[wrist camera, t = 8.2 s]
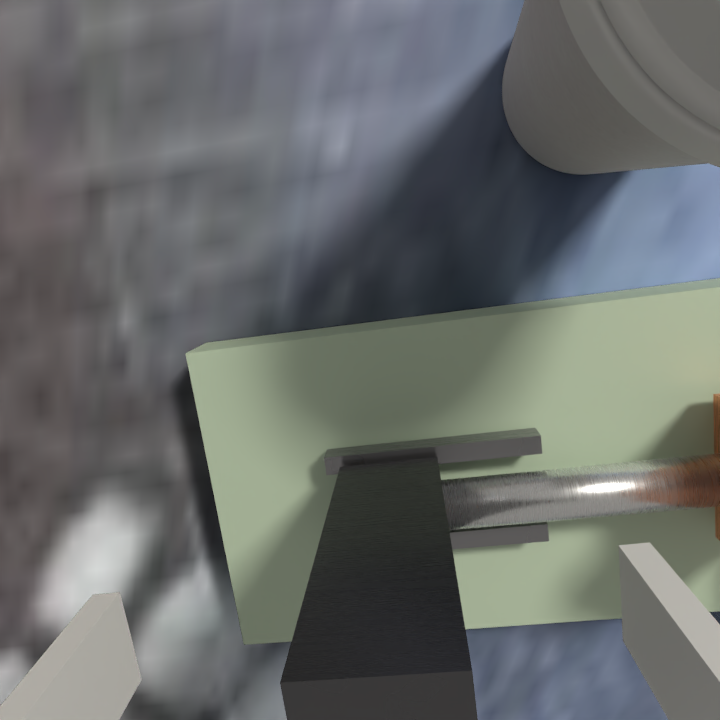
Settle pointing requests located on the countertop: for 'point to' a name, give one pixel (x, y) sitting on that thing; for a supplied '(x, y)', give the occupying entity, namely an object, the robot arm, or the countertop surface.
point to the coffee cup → (615, 84)
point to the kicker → (439, 574)
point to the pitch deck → (463, 417)
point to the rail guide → (452, 452)
